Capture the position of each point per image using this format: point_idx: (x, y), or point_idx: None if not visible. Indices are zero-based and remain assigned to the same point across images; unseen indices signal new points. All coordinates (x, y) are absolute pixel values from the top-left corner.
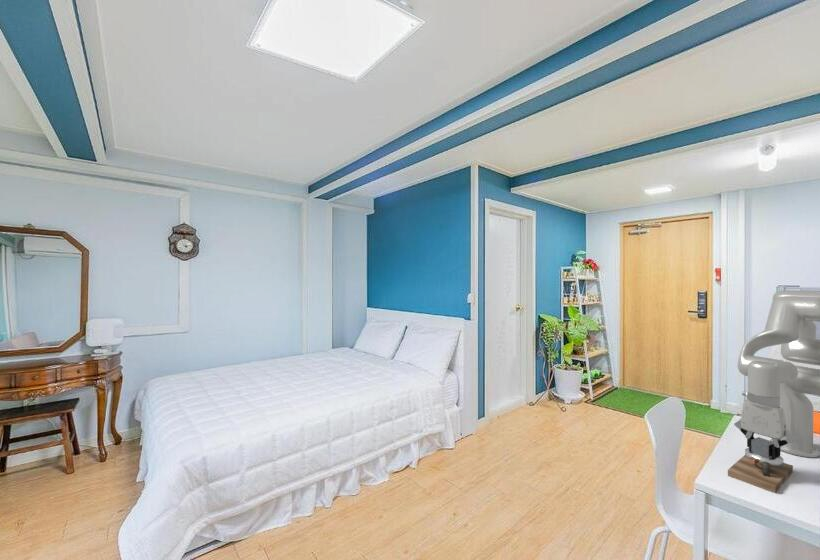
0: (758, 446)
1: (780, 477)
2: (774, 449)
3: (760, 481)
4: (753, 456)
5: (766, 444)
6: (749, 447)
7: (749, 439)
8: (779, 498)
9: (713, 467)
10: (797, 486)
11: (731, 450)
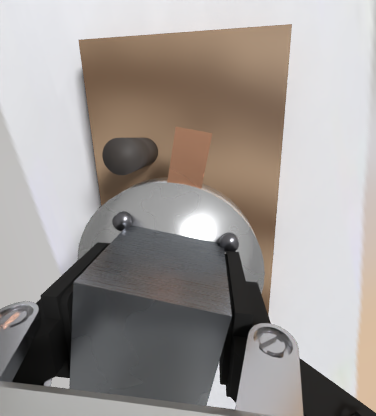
0: (173, 272)
1: (105, 187)
2: (58, 281)
3: (137, 36)
4: (197, 187)
5: (95, 293)
6: (238, 264)
7: (248, 312)
8: (69, 9)
9: (355, 82)
10: (79, 213)
11: (321, 351)
